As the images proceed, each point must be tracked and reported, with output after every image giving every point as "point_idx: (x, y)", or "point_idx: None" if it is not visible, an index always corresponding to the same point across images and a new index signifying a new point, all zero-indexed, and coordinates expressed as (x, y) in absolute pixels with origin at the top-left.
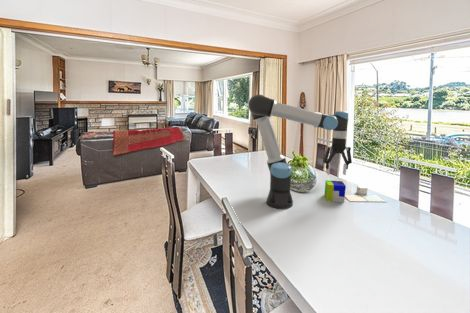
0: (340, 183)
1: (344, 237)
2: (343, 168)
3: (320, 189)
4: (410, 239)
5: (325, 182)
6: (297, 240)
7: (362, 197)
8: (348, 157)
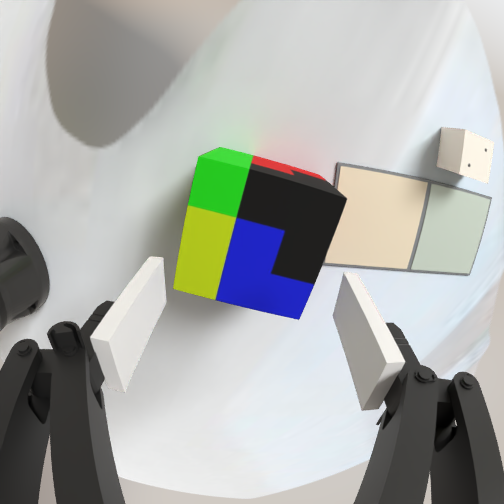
0: (294, 259)
1: (172, 440)
2: (360, 319)
3: (237, 41)
4: (309, 452)
5: (202, 155)
6: None
7: (421, 215)
8: (444, 476)
